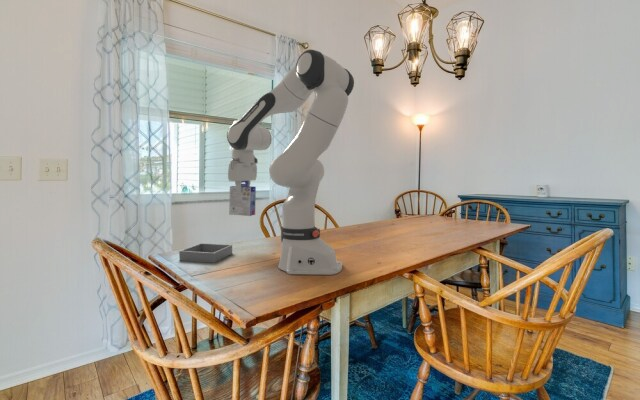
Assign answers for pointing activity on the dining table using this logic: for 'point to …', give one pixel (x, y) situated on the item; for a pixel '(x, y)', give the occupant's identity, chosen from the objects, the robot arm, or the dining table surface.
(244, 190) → the ink cartridge box
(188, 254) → the bin
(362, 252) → the dining table surface
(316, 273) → the robot arm
